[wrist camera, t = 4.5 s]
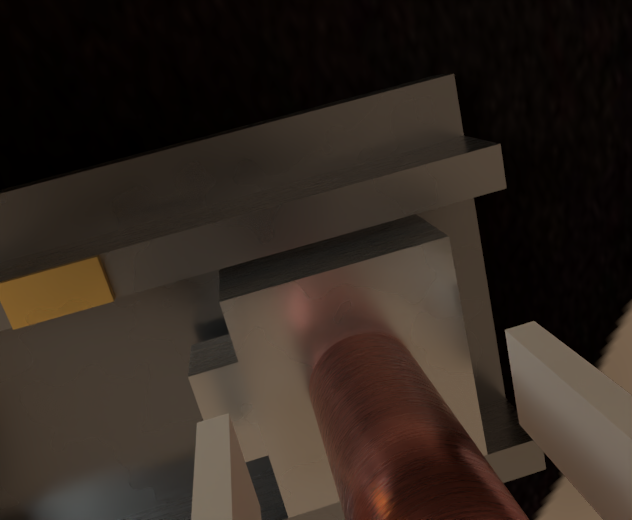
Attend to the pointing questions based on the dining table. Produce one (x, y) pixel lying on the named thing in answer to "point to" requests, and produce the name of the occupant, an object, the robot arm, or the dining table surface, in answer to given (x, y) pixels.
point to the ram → (355, 377)
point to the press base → (210, 290)
